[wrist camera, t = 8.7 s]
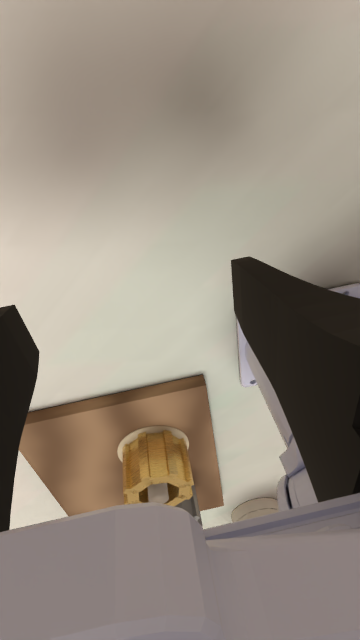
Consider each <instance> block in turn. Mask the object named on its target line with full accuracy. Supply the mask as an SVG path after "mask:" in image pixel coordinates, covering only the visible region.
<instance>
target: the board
mask: <svg viewBox="0 0 360 640" xmlns="http://www.w3.org/2000/svg"><path fill="white" fill-rule="evenodd" d="M163 430H168V431H171V432H172V435H173V436H175V437H177V438H179V439H182V438H184V440H185V441H186V445H187V450H188V455H189V461H190V466H191V471H192V476H193V481H194V485H195V490H196V495H197V500H198V505H199V510H200V511H203V510H207V509H211V508H216V507H220V506H224V503H223V496H222V489H221V483H220V476H219V469H218V463H217V456H216V449H215V442H214V436H213V429H212V422H211V415H210V409H209V402H208V395H207V389H206V384H205V380H204V377H203V375H199V376H194V377H190V378H185V379H180V380H176V381H171V382H167V383H162V384H157V385H153V386H148V387H144V388H139V389H134V390H130V391H125V392H121V393H116V394H111V395H107V396H102V397H98V398H93V399H88V400H84V401H79V402H75V403H70V404H65V405H61V406H56V407H52V408H47V409H42V410H38V411H33V412H29V413H28V414H27V418H26V421H25V425H24V429H23V432H22V436H21V441H20V445H19V451H20V452H21V453H22V455H23V456H24V457H25V459H26V460H27V461H28V463H29V464H30V465H31V467H32V468H33V469H34V471H35V472H36V473H37V475H38V476H39V477H40V479H41V480H42V481H43V483H44V484H45V485H46V487H47V488H48V489H49V491H50V492H51V493H52V495H53V496H54V497H55V499H56V500H57V502H58V503H59V504H60V506H61V507H62V508H63V510H64V511H65V512H66V514H67V515H68V516H73V515H78V514H82V513H86V512H91V511H95V510H99V509H104V508H108V507H112V506H117V505H125V504H124V494H123V454H122V448H123V447H124V445H125V444H130V443H131V442H133V441H134V440H135V439H137V438H138V434H140V433H143V432H146V433H147V434H150V433H160V432H163ZM148 500H149V502H156V503H161V504H164V503H166V502H167V501H168V500H169V495H168V487H167V483H160V484H152V485H149V486H148Z"/></svg>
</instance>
